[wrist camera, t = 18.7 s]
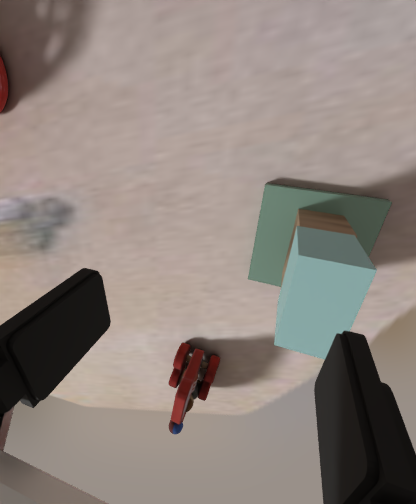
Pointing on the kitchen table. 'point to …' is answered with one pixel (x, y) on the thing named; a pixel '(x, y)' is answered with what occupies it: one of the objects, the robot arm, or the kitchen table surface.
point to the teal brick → (321, 290)
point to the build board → (284, 215)
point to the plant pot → (3, 85)
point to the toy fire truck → (189, 382)
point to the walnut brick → (318, 226)
